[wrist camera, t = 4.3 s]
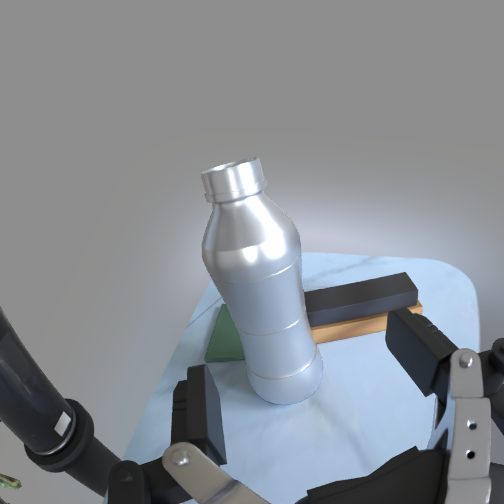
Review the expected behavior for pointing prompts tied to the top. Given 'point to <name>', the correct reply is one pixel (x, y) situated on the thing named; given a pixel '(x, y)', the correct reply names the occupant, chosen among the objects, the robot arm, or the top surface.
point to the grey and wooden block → (358, 306)
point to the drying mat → (225, 340)
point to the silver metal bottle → (261, 282)
